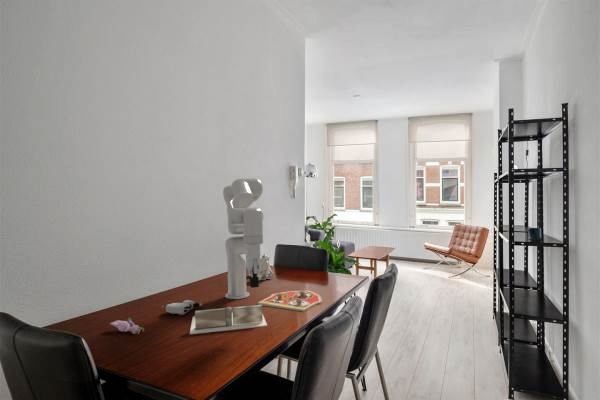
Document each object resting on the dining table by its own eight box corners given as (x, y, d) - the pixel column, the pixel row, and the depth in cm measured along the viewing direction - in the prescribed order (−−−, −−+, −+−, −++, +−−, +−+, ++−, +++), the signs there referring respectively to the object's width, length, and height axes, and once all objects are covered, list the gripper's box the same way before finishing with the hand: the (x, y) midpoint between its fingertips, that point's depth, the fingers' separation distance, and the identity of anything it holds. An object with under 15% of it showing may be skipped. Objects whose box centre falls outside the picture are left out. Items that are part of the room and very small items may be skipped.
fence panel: (233, 324, 143) (232, 308, 143) (232, 323, 144) (232, 307, 144) (262, 321, 145) (262, 305, 145) (262, 320, 147) (261, 304, 147)
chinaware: (245, 278, 237) (241, 253, 236) (269, 273, 242) (266, 249, 241) (252, 287, 210) (248, 260, 210) (279, 282, 215) (275, 255, 215)
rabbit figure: (146, 333, 141) (116, 324, 145) (148, 319, 141) (118, 310, 145) (135, 339, 135) (104, 330, 140) (136, 324, 135) (105, 315, 139)
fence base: (195, 328, 141) (195, 310, 141) (231, 325, 144) (231, 306, 144) (195, 331, 139) (195, 311, 139) (232, 327, 142) (231, 308, 142)
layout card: (192, 317, 155) (192, 316, 155) (261, 310, 162) (260, 309, 162) (189, 334, 136) (189, 333, 136) (267, 326, 143) (267, 324, 143)
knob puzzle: (254, 305, 172) (254, 296, 172) (285, 290, 198) (285, 282, 198) (308, 313, 158) (308, 303, 158) (333, 296, 184) (333, 287, 184)
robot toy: (183, 307, 173) (160, 315, 159) (183, 298, 173) (160, 304, 159) (203, 310, 168) (182, 318, 154) (204, 300, 168) (182, 307, 154)
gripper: (242, 238, 145) (243, 282, 146) (245, 242, 130) (246, 292, 130) (260, 237, 147) (261, 281, 147) (265, 241, 132) (266, 290, 132)
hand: (254, 286), depth 139 cm, fingers closed
